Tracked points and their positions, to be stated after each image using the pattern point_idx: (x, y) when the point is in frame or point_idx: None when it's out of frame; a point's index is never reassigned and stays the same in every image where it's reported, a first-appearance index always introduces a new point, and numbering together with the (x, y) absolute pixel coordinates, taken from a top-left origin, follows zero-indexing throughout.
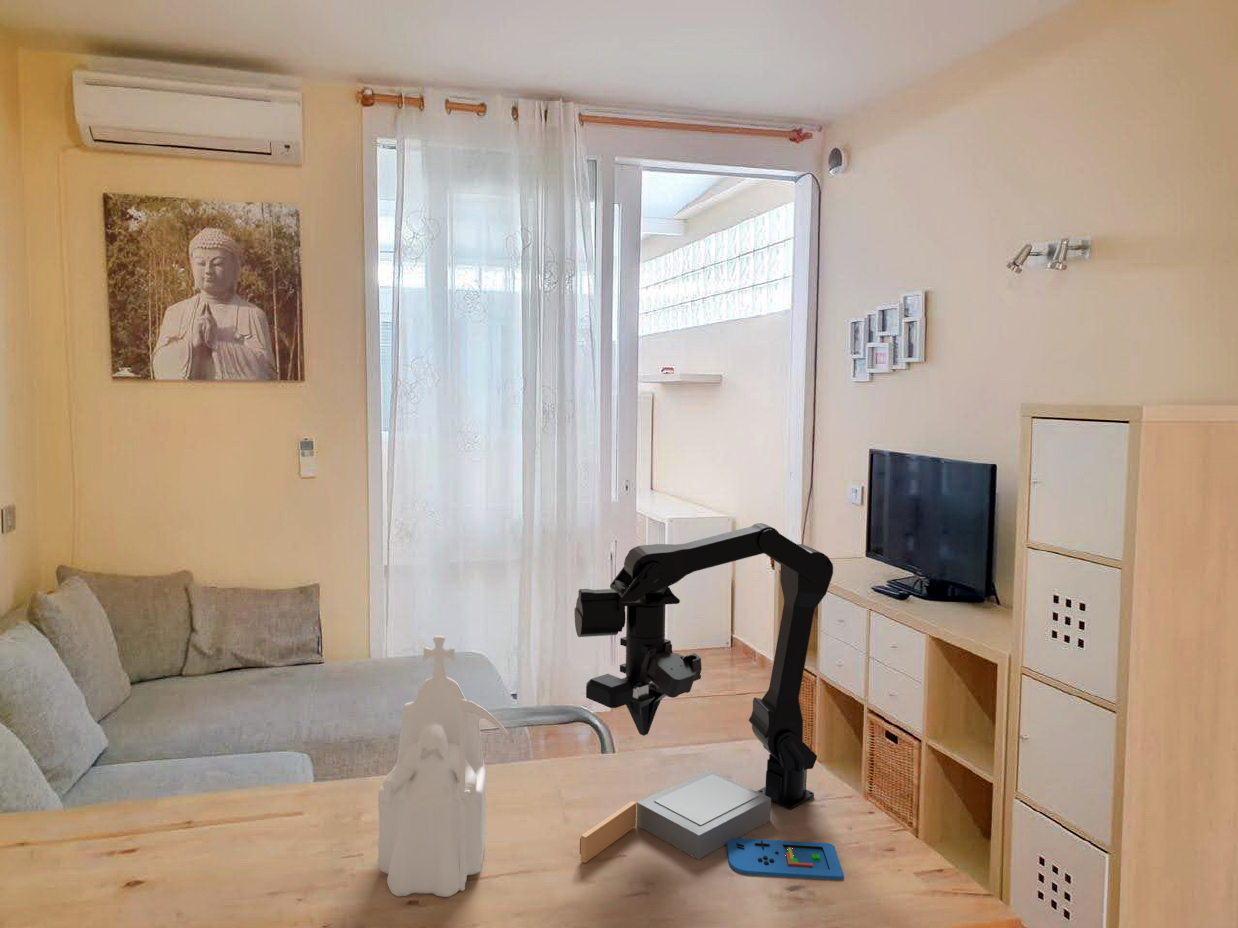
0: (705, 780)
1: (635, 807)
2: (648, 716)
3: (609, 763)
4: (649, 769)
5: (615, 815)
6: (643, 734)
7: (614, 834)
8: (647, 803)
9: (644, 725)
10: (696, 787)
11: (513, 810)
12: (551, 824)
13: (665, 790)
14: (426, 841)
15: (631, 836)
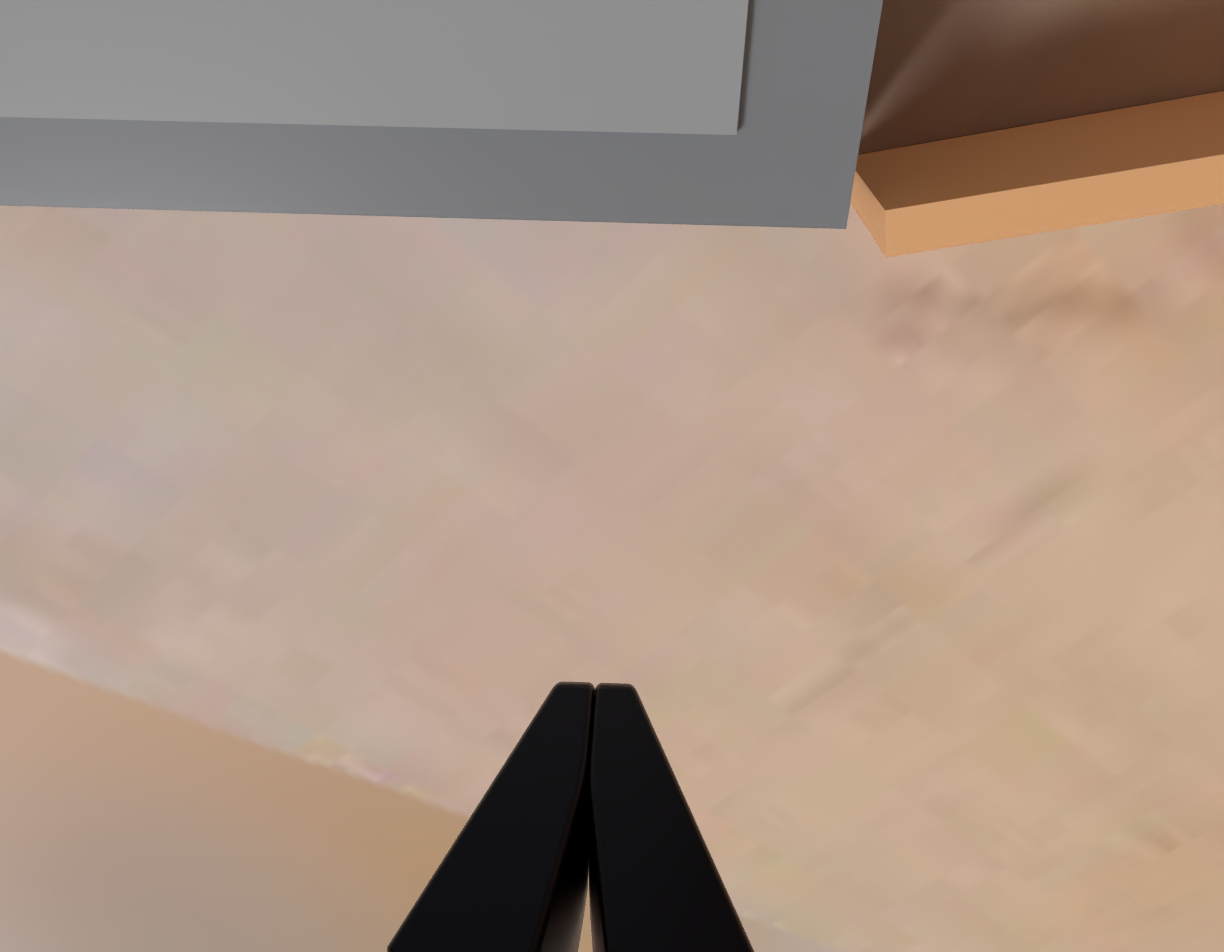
0: (76, 70)
1: (889, 196)
2: (548, 938)
3: (400, 725)
4: (248, 576)
5: (1199, 172)
6: (636, 698)
7: (1161, 116)
8: (802, 150)
9: (668, 808)
10: (238, 32)
11: (1116, 706)
12: (1136, 516)
13: (507, 207)
14: None
15: (968, 83)
